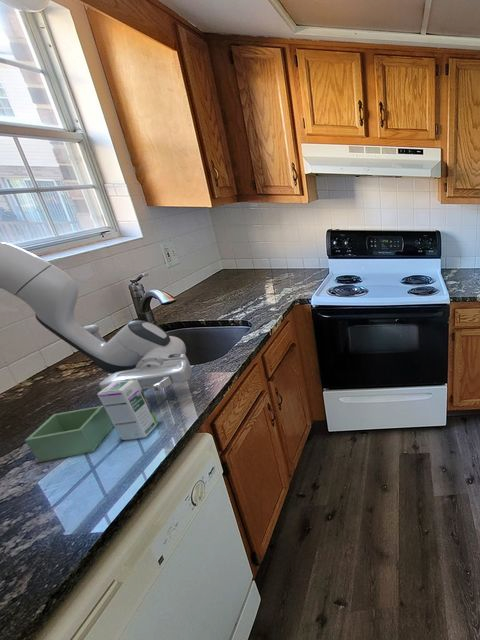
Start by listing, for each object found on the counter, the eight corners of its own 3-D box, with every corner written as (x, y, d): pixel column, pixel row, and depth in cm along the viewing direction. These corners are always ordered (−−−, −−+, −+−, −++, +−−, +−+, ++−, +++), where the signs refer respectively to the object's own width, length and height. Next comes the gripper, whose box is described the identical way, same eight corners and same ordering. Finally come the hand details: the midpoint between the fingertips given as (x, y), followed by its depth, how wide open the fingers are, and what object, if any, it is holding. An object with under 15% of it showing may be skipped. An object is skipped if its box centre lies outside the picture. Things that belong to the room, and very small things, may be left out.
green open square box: (93, 451, 89) (81, 429, 86) (38, 462, 86) (24, 440, 83) (114, 425, 98) (103, 405, 95) (65, 434, 95) (53, 414, 92)
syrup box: (146, 437, 93) (123, 389, 87) (120, 440, 92) (95, 392, 86) (159, 424, 98) (138, 377, 92) (135, 426, 97) (112, 380, 91)
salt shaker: (91, 362, 132) (74, 330, 127) (97, 356, 137) (81, 324, 132) (111, 359, 135) (95, 327, 129) (116, 353, 139) (102, 321, 134)
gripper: (109, 365, 104) (82, 390, 92) (191, 353, 110) (176, 375, 98) (118, 384, 107) (93, 410, 95) (197, 371, 113) (183, 394, 101)
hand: (136, 392), depth 96 cm, fingers open, 8 cm apart
